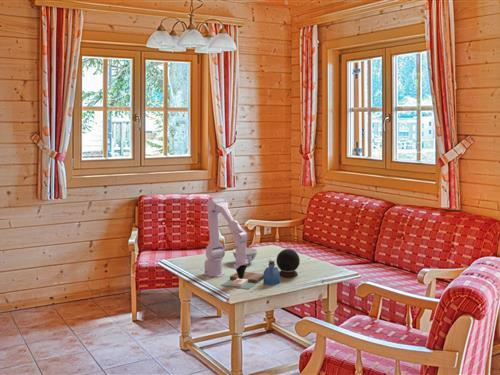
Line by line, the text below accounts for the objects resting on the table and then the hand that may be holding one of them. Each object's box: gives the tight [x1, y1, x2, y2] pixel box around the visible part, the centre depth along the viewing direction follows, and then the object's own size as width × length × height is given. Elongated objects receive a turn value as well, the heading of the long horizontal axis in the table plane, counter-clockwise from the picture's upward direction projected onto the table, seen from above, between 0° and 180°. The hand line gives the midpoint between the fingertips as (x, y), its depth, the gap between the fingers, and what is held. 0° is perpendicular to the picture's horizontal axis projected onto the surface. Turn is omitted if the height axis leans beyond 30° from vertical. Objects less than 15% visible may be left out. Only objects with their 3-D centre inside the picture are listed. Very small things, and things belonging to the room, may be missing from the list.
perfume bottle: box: [262, 260, 281, 286], centre depth 300 cm, size 6×6×12 cm
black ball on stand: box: [275, 248, 301, 279], centre depth 315 cm, size 13×13×15 cm
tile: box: [231, 278, 248, 287], centre depth 298 cm, size 6×9×2 cm, turn 157°
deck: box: [229, 271, 264, 285], centre depth 308 cm, size 16×12×2 cm
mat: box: [220, 279, 257, 290], centre depth 297 cm, size 16×10×1 cm, turn 67°
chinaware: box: [232, 247, 258, 265], centre depth 341 cm, size 15×15×8 cm
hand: (240, 278), depth 300 cm, fingers closed
